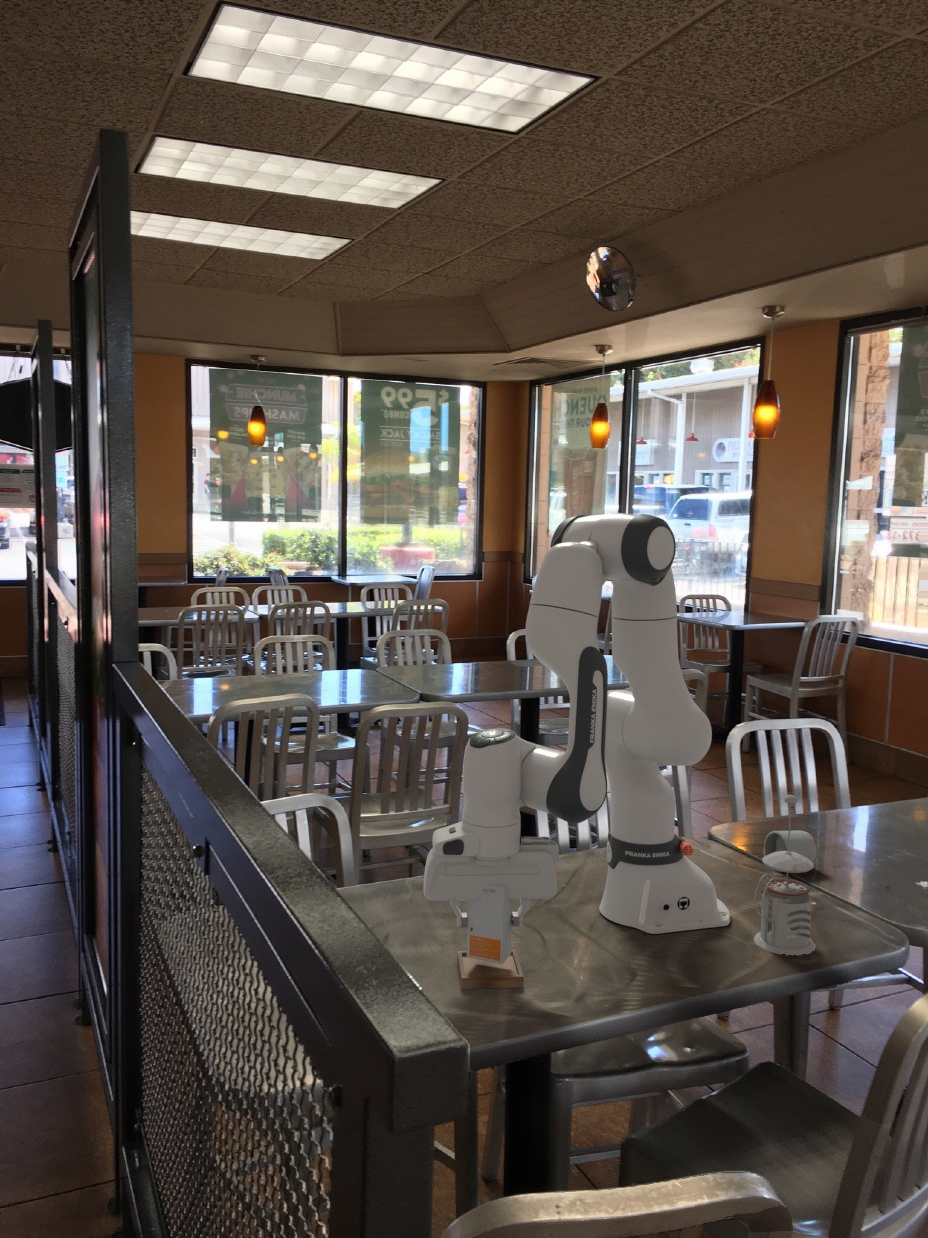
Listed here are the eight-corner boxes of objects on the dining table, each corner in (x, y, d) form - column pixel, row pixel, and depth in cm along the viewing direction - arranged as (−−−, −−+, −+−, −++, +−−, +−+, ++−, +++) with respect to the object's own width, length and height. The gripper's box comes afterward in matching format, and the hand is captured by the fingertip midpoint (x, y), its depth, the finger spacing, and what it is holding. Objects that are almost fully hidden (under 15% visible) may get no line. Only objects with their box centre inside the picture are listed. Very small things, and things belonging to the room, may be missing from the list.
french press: (828, 947, 163) (836, 798, 160) (780, 963, 157) (787, 809, 154) (780, 926, 171) (786, 783, 168) (733, 941, 165) (738, 793, 162)
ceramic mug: (820, 871, 198) (821, 833, 197) (786, 876, 195) (787, 837, 194) (784, 854, 208) (786, 818, 207) (752, 859, 205) (753, 822, 204)
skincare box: (465, 958, 151) (466, 882, 150) (475, 947, 155) (476, 873, 154) (503, 965, 149) (504, 888, 148) (512, 954, 153) (513, 878, 151)
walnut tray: (515, 960, 157) (515, 949, 157) (523, 987, 148) (523, 976, 148) (457, 961, 156) (457, 951, 156) (461, 989, 147) (461, 978, 147)
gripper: (555, 830, 154) (553, 916, 155) (423, 831, 152) (422, 918, 154) (562, 843, 148) (560, 933, 149) (424, 845, 146) (424, 935, 147)
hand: (489, 925), depth 151 cm, fingers closed on skincare box, 7 cm apart
